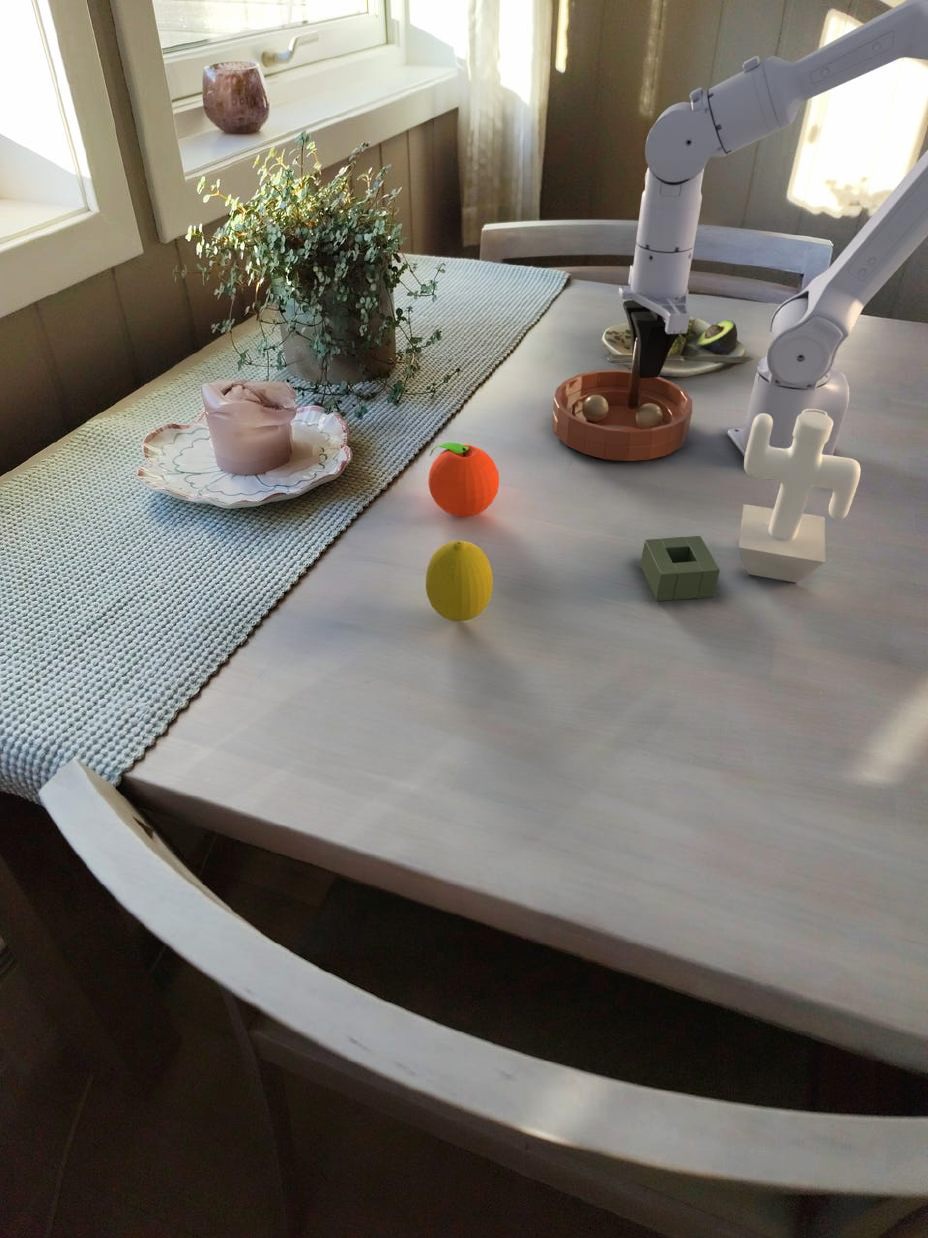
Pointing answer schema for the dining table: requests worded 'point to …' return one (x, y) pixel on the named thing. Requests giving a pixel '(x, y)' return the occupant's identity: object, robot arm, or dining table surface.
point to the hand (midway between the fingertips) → (646, 372)
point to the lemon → (459, 581)
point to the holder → (679, 568)
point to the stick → (634, 382)
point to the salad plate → (685, 348)
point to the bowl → (620, 416)
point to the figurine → (793, 498)
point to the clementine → (463, 479)
